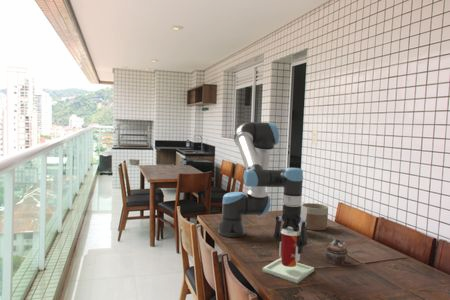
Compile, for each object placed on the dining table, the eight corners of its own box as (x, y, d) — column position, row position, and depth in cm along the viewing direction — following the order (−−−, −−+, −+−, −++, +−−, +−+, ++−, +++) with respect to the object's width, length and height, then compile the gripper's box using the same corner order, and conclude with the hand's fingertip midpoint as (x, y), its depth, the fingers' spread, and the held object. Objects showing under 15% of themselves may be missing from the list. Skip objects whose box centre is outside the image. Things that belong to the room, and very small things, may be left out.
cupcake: (327, 256, 165) (328, 235, 164) (348, 260, 160) (349, 239, 160) (323, 262, 156) (324, 241, 156) (345, 267, 152) (346, 245, 151)
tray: (262, 271, 143) (262, 267, 143) (280, 261, 156) (280, 257, 155) (297, 283, 133) (297, 279, 133) (313, 271, 146) (314, 267, 146)
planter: (329, 227, 217) (331, 205, 216) (322, 232, 203) (324, 210, 202) (305, 222, 225) (307, 202, 224) (297, 227, 212) (298, 206, 211)
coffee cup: (298, 269, 139) (300, 233, 138) (278, 266, 141) (280, 231, 140) (298, 261, 147) (300, 227, 147) (279, 259, 149) (281, 225, 148)
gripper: (267, 202, 146) (264, 254, 147) (310, 210, 134) (307, 267, 135) (275, 199, 152) (273, 250, 153) (318, 207, 140) (314, 262, 141)
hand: (289, 258), depth 144 cm, fingers closed on coffee cup, 7 cm apart
